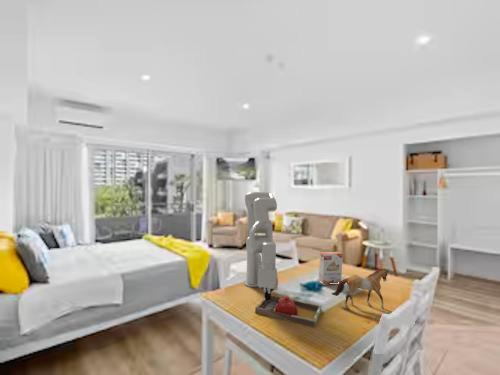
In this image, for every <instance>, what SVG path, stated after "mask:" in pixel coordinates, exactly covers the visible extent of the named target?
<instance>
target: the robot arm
mask: <svg viewBox="0 0 500 375" xmlns="http://www.w3.org/2000/svg"><path fill="white" fill-rule="evenodd" d="M244 203H245V207H246V210H247V227H248V228H247V229H248V232H249V234H248V237H247V238H246V240H245V244H246V276H245V277H246V279H244V281H243V284H244V285H245V286H246V287H250V288H259V289H262V291H263V293H264V298H265V300H267V302H268V301H269V300H270V299H271V295H272V292H274V291H278V290H279V288H278V285H279V276H278V268H276V263H277V262H276V258H277V256H276V255H277V245H276V242H275V241H274V240H273V233H274V232H273V223H272V220H270V217H269V216H270V215H269V212H275V211H277V209H278V203H277V200H276V199H275V196H274V195H273V194H272V193H271V192H268V191H266V192H265V191H263V192H262V191H251V192H247V193H246V194H245V196H244ZM255 234H256V235H255ZM257 234H258V235H257ZM259 234H260V235H259ZM261 234H264V235H261Z"/></svg>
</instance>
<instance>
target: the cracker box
mask: <svg viewBox="0 0 500 375" xmlns="http://www.w3.org/2000/svg"><path fill="white" fill-rule="evenodd" d="M318 268H319V269H318V270H319V271H318V282H319V281H321V282H323V283H324V284H330V283H338V282H340V281H342V270H343V253H342V252H339V251H323V252H319V267H318Z"/></svg>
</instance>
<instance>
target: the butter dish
mask: <svg viewBox="0 0 500 375" xmlns="http://www.w3.org/2000/svg"><path fill="white" fill-rule="evenodd" d="M274 311H275V312H280V313H284V314H288V315H295V316H299V315H298V314H299V313H298V306H295V303H294V299H292V298H290V297H289V296H288V295H285V296H284V297H281V299H279V302H278V304H277V305H276V306H275V308H274Z"/></svg>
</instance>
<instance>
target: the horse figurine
mask: <svg viewBox="0 0 500 375" xmlns="http://www.w3.org/2000/svg"><path fill="white" fill-rule="evenodd" d="M388 272H389V269H387V268H379V269H377V270H375V271H374V272H372V273H370V274H369V275H368V276H361V275H357V274H353V275H350V276H348V277H346V278H344V279H341V281H340V282H339V284H337V285H336V289H335V291H334V292H331V295H332V296H335V297H337V296H339V295H340V294H341V293H342V292H343V291H344V289H345V285H346V284H347V287H348V291H347V295H346V296H345V302H344V307H345V308H346V309H349V305H348V301H349V300H350V302H349V303H350V304H351V305H352V306H354V299H353V297H352V295H353V294H354V292H356V291H357V290H358V289H360V290H364V291H368V292H367V299H366V303H367V306H368V307H371V306H372V305H371V303H370V302H369V301H370V297H371V293H372V291H374V292H375V293H376V294H377V296H378V297H379V298H380V302H381V305H380V307H381V308H382V309H384V304H385V303H384V300H383V296H382V292H381V288H382V287H381V279H382V281H383V282H386V281H388V280H387V279H388V277H387V276H388Z"/></svg>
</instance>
